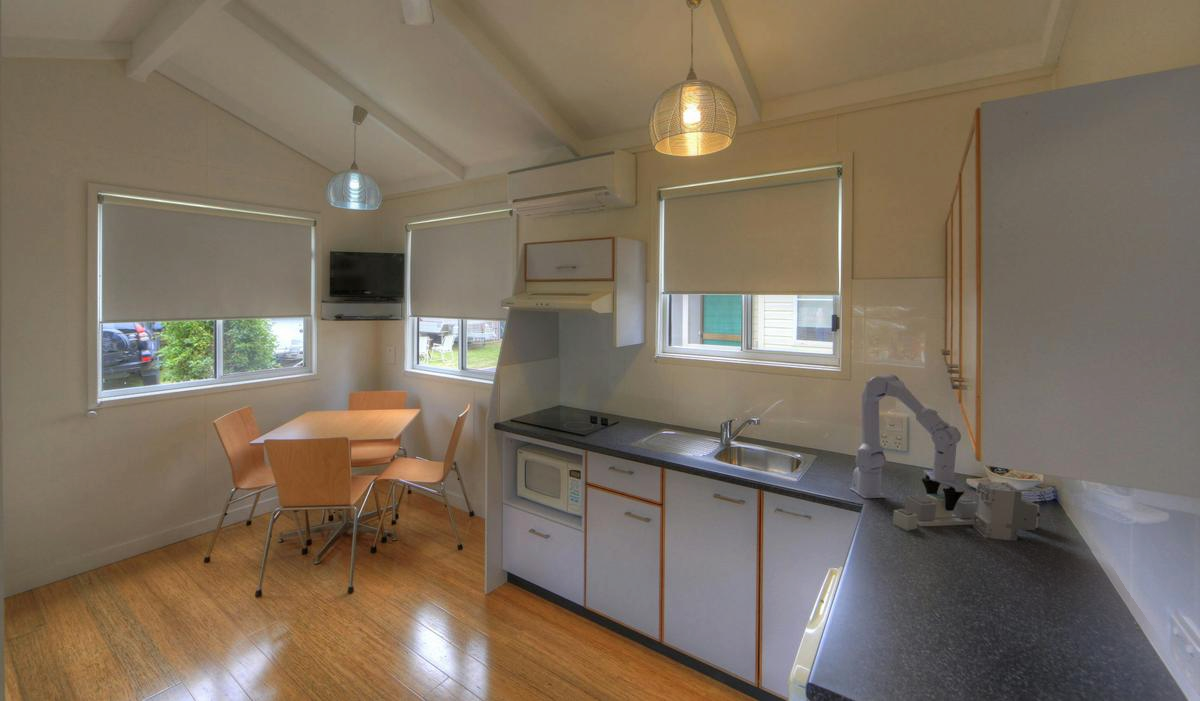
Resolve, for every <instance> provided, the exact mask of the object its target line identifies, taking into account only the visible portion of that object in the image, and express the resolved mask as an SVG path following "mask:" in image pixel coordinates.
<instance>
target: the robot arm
mask: <svg viewBox="0 0 1200 701" xmlns="http://www.w3.org/2000/svg"><path fill="white" fill-rule="evenodd" d="M886 396H888V397H892V398H897V399H898V400H899V401H900V402H901V403H903V405H905V406H906V408H908V409H909V410H910V411H912V412H913V413H914V414H915V420H916V421H917V423H918V424H920V425H921V426H922V427H923V428H924V430H926V431H927V432H928V433H929V434H930V435H931V440H932V442H933V444H934V452H933V463H932V465H933V466H932V470H930V469H927V470H925V469H924V470H923V478H922V479H921V482H922V484H923V486H924V488H925V490H926V494H938V491H939V488H940V485H941V484H942V485H943V486H945V487H946V488H945V487H943V488H942V491H943V494H945V507H946V510H947V511H953V510H954V508H955V505H956V503H957V501H958V500H959V498H960V497H961V496H963V495H964V494H965V491H964V485H962V484H961V483H960V482H958V481H957V480H956V479H955V478H954V477H955V468H956V457H957V444H958V443H959V442H960V441H961V439H962V436H961V434H962V433H961V432H960V431H959V429H958V428H957V427H955V426H953V425H950V424H949V422H946V421H945V420H944V419H942V418H941V417H940V415H938V411H937V410H935V409H934V410H933V409H932V408H928V407H927V408H926V407H925V406H924V405H923V403H921V402H920V401H919V399H917V398H916V396H914V394H913V393H912V392H911V391H910V390H909V389H908V388H907V387H906V385H905V383H904V382H903V381H902V380H901V379H899V377H898V376H897V375H895V374H887V375H885V374H884V375H874V376H872V377H870V378H869V379H867V381H866V385H865V388H864V390H863V392H862V394H861V407H862V408H861V419H862V420H861V421H862V423H861V424H862V427H861V428H862V429H861V430H862V435H861V436H862V442H861V445H860V446H859V448H858V449H857V455H856V457H855V461H854V462H855V465H856V467H855V469H854V470H853V472H852V487H849V489H850V490H851V491H852V492H854V493H856V494H857V495H859V496H860V497H862V498H864V499H886V495H884V494H882V493H881V486H882V484H881V483H882V471H883V468H885V466H886V465H887V457H886V455H885V450H884V448H883V446H882V445H881V444H880V442H881V441H880V438H881V437H880V401H881V400H882V399H883V398H884V397H886ZM947 487H948V488H947Z"/></svg>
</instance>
